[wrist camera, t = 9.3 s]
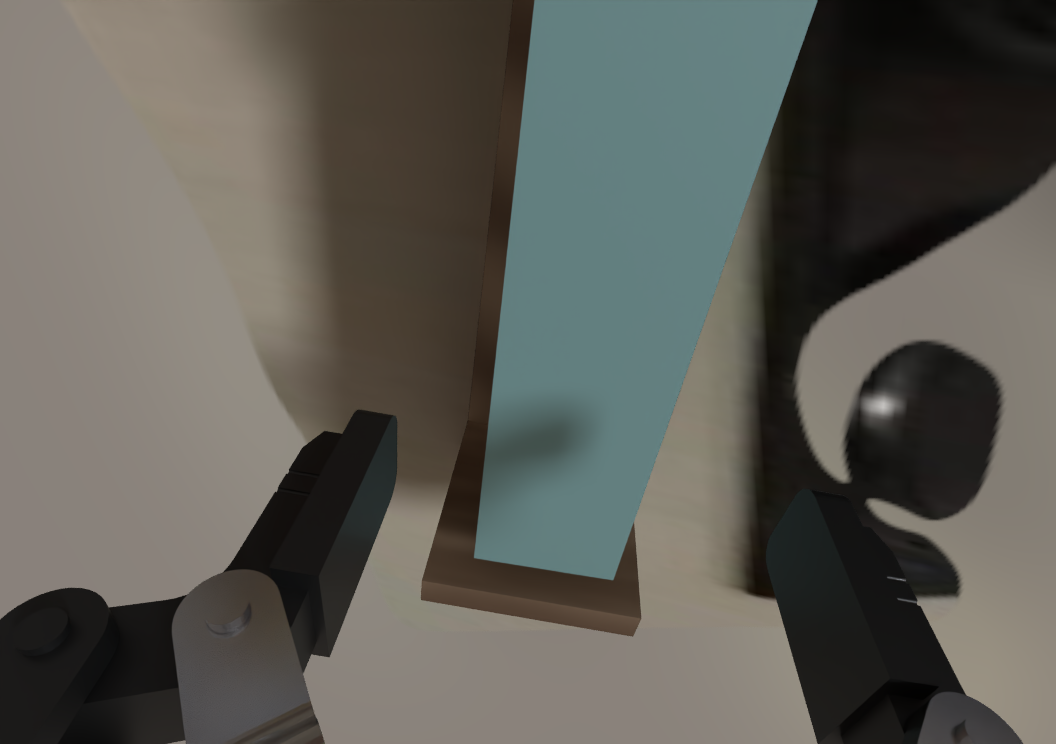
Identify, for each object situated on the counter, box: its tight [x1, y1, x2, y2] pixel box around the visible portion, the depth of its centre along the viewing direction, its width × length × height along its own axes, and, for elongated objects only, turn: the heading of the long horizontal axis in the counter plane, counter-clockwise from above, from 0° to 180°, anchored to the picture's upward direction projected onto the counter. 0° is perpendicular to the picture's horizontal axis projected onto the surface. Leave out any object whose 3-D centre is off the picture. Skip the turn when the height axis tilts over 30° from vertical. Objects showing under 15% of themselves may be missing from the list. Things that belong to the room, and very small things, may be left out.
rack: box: [421, 0, 641, 636], centre depth 19 cm, size 26×8×10 cm, turn 172°
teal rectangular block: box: [474, 0, 817, 580], centre depth 16 cm, size 18×5×4 cm, turn 173°
